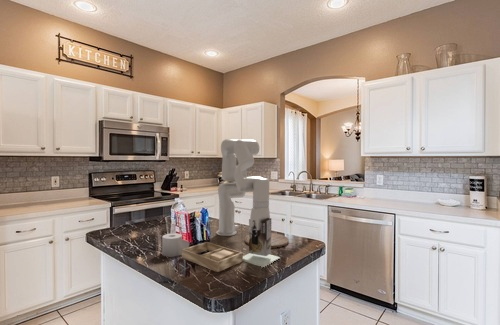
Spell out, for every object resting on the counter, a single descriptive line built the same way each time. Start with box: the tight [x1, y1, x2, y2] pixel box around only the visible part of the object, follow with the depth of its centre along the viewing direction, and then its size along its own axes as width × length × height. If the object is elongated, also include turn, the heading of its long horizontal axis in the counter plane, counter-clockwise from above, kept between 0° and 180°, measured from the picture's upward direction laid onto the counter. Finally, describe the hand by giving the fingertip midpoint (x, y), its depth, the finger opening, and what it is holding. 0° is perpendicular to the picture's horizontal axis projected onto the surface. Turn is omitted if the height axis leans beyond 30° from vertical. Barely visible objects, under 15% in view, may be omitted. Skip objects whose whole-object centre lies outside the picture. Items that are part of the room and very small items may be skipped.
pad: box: [242, 252, 281, 268], centre depth 127 cm, size 13×14×1 cm
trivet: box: [244, 232, 290, 249], centre depth 155 cm, size 25×25×2 cm
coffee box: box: [248, 217, 272, 256], centre depth 126 cm, size 9×6×16 cm
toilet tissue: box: [161, 232, 190, 258], centre depth 134 cm, size 9×13×9 cm
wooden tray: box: [181, 241, 244, 273], centre depth 125 cm, size 16×24×4 cm, turn 51°
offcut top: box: [210, 250, 234, 261], centre depth 121 cm, size 9×6×2 cm
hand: (260, 242), depth 126 cm, fingers closed on coffee box, 7 cm apart
